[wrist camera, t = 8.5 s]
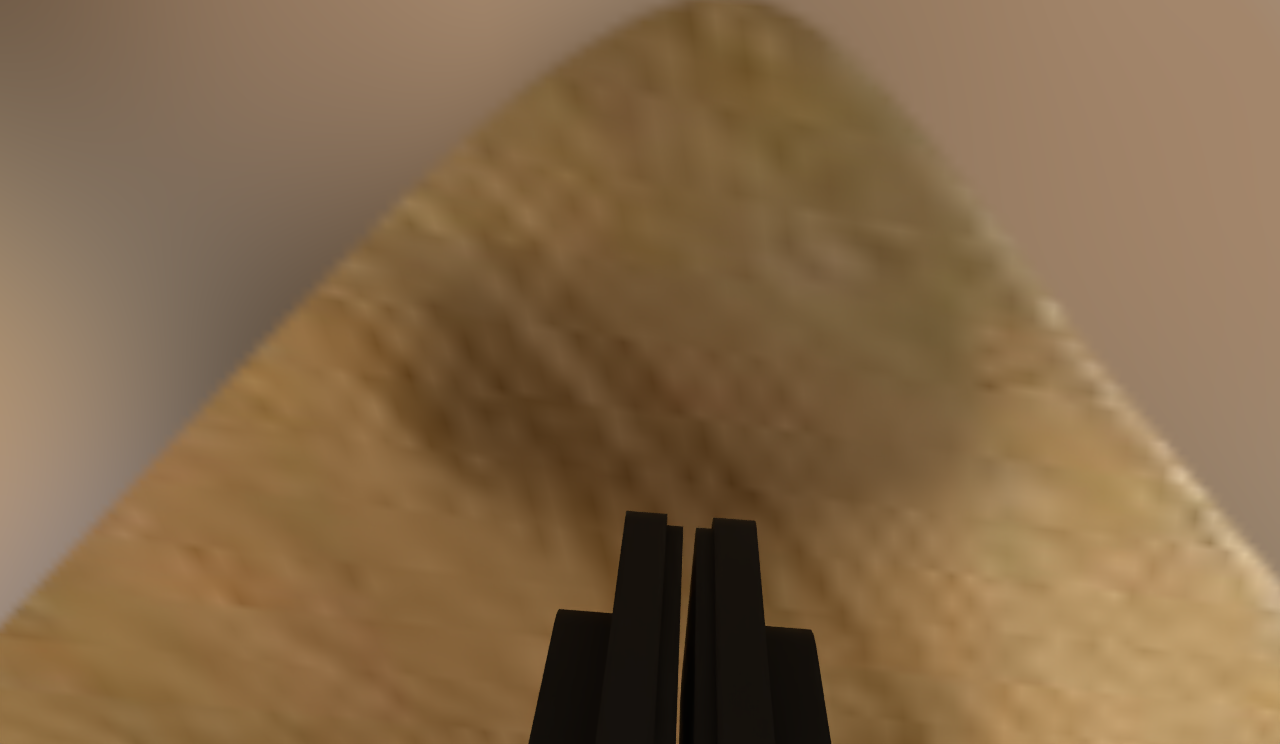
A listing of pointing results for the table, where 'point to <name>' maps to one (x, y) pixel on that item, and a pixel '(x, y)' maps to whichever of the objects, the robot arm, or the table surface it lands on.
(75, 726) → the table surface
